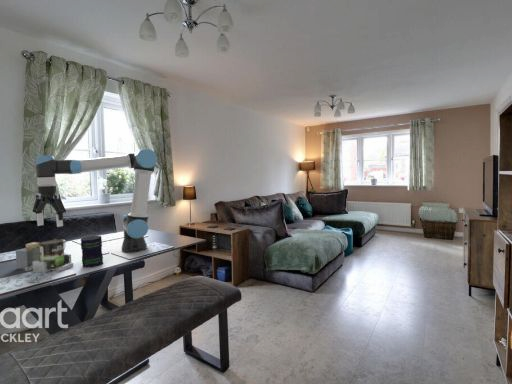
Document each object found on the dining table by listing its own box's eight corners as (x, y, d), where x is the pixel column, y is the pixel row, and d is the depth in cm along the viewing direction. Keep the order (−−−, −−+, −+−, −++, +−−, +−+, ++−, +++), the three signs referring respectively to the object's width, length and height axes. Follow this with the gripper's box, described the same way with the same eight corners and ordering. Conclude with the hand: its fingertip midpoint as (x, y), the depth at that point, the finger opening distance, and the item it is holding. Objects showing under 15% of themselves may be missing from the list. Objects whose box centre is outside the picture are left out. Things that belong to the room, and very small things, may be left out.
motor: (52, 274, 135) (50, 249, 134) (11, 269, 143) (9, 246, 142) (78, 264, 149) (77, 242, 148) (40, 260, 157) (38, 239, 156)
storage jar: (100, 266, 145) (98, 239, 144) (79, 268, 142) (77, 240, 141) (105, 260, 155) (103, 235, 153) (85, 262, 152) (83, 236, 151)
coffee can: (69, 265, 149) (68, 239, 148) (52, 271, 138) (50, 244, 137) (54, 264, 151) (52, 239, 150) (35, 270, 141) (33, 243, 140)
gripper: (72, 185, 141) (75, 225, 143) (37, 185, 148) (40, 223, 150) (58, 185, 134) (61, 228, 136) (21, 186, 141) (25, 226, 143)
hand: (50, 226), depth 143 cm, fingers open, 13 cm apart
